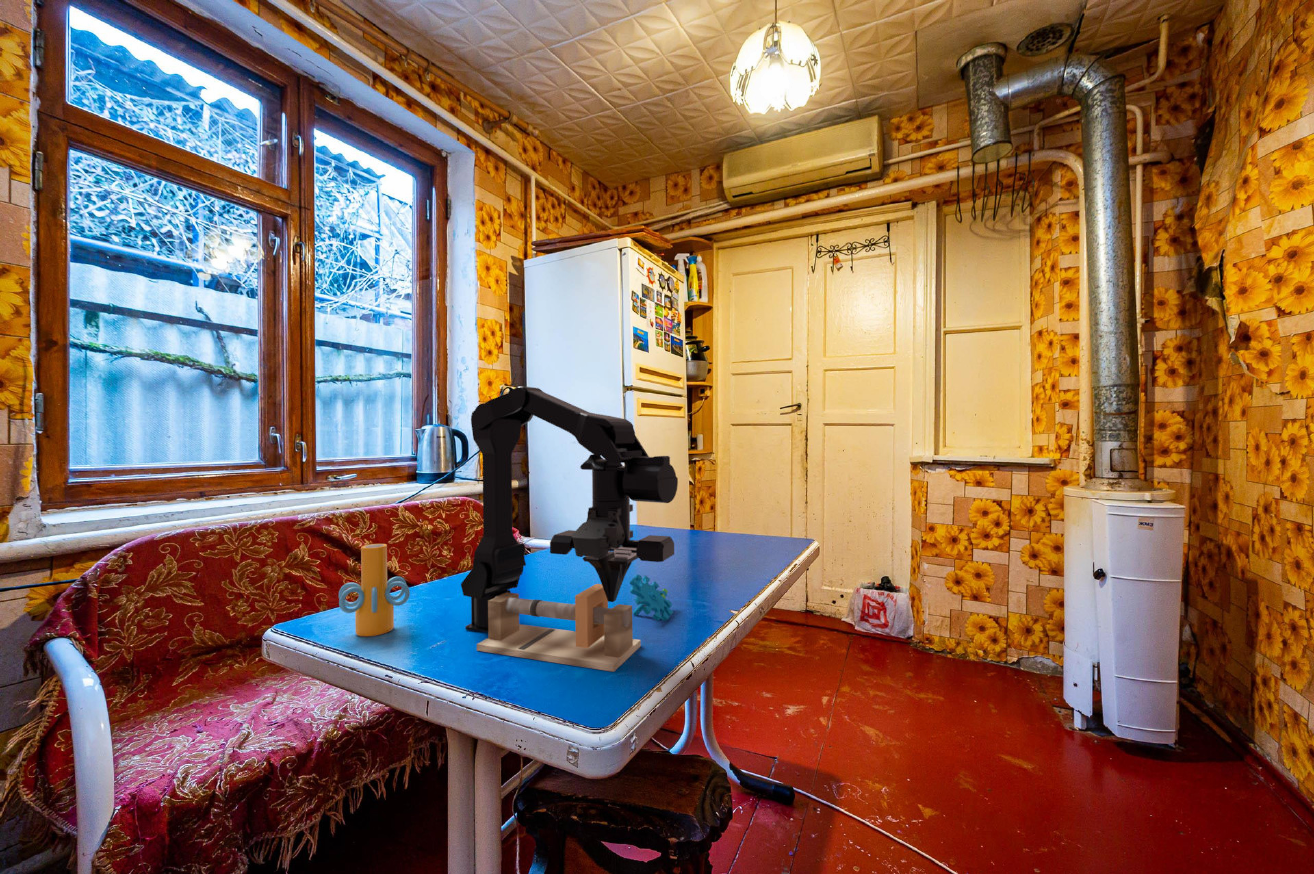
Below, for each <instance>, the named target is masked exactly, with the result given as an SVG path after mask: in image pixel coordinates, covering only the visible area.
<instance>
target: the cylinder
mask: <svg viewBox="0 0 1314 874" xmlns="http://www.w3.org/2000/svg"><path fill="white" fill-rule="evenodd" d="M360 552H361V553H360V554H361V555H360V559H361V562H360V565H361V569H360V570H361V574H360V577H361V585H360V584H359V583H356V582H346V583H345V584H343V585H342V586H341V587H340V588H339V591H338V599H339V600H338V605H339V608H340V610H341V611H342V612H344V613H347V614H352V613H355V618H354V620H355V624H354V625H355V627H354V628H355V630H354V631H355V634H356V635H357V636H358V637H375V636H380V635H383V634H384V635H385V634H386V633H388V632H391V631H392V630H394V628H395V622H394V621H395V611H394V610H395V609H394V606H403V605H404V604H406V603H407V601H408V600H409V599H410V597H411V592H410V588H409V586H408V585H407V582H406V580H405V578H404V577H401V576H394V577H391V578H389V579H388V544H386V543H373V544H372V543H371V544H366V545H362V546H361V548H360ZM395 587H401V590H400V591H399V593H398V594H396V595H391V590H392V589H393V588H395ZM351 593H357V594H358V597H357V599H356V600H355V601H348V600H347V599H346V597H347V596H348V595H349V594H351ZM403 596H404V597H403ZM402 597H403V598H402ZM401 598H402V599H401ZM400 599H401V600H400Z"/></svg>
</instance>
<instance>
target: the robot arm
mask: <svg viewBox="0 0 1314 874" xmlns="http://www.w3.org/2000/svg"><path fill="white" fill-rule="evenodd" d="M533 417H536V418H538V419H540V420H542V421H545V422H547V423H549V424H551V425H553V426H555V427H558V428H559V429H561V430H562V431H565V432H567V433H569V434H571V435H572V436H573V437H575V439H576V441H577V443H578V444H579V445H580V446H581V447H583V448H584V449H585V450H587V451H588V452H590V455H589V457H588V458H587V459H586V460H585V461H584V462H582V464H581V465H580V467H579V468H580V470H585V471H586V470H587V471H591V477H592V485H591V486H592V487H591V488H592V489H591V490H592V495H591V496H592V501H591V502H592V503H591V504H592V505H591V506H590V507H588V510H587V516H586V520H585V522H583V523H581V525H580V526H579V527H578V528H576V529H575V530H570V529H568V530H564V531H562V532H558V533H556V534H553V535H552V538H551V539H550V542H549V553H550V554H553V555H564V556H565V555H568V554H569V553H570V552H571V551H572V550H573V549H574V551H575V552H574V553H575V556H576V557H579V558H582V560H583V561H584V562H587V563H589V564H590V565H591V567H593V568H594V569H595V571H596V573H597V576H598V579H599V580H600V584H602V586H603V589H604V592H605V594H606V597H607V600H608V603H614V602H615V601H616V600H617V598H618V596H619V592H620V590H621V587H622V585H623V582H624V579H625V577H626V574H627V573H628V570H629V569H630V567H631V565H632V562H634V561H635V560H638V559H639V560H640V561H642V562H651V563H652V562H653V563H662V562H665V561H666V560H667V559H669V558H671V557H672V556H674V555H675V542H674V540H673V539H672V537H671V536H667V535H652V534H651V535H649V534H648V535H647V536H645V537H643V538H640V539H639V540H638V539H637V540H636V539H632V538H634V530H631V517H630V516H631V515H630V514H631V512H633V511H634V504H630V502H631V501H633V502H644V503H656V504H657V503H660V504H670V503H671V502H673V500H674V499H675V497H676V494H677V492H678V483H679V481H678V477H677V475H676V471H675V469H674V467H673V465H671V457H670V455H659V456H658V455H657V456H656V455H655V456H649V455H648V453H647V452H646V449H644V447H643V445H642V444H641V442H640V440H639V438H638V437H637V436H636V432H635V431H636V430H635V429H634V425H633V423H632V422H631V421H630V420H628V419H626V418H621V417H616V416H612V415H606V414H599V413H593V412H590V411H587V410H585V409H582V408H581V407H578V406H575V405H574V404H571V403H570V402H568V401H567V402H566V401H565V400H563V399H560V398H558V397H556V396H553V395H551V394H549V393H546V392H545V391H543V390H542V389H540V387H539V388H538V387H532V386H522V385H521V386H517V387H514V388H513V389H512V390H510V391H509V392H506V393H504V394H503V395H499V396H498V397H493V398H492V399H489V400H487V401H486V402H483V403H480V404H478V405H477V406H476V408H475V409H474V410H473V411H472V412H471V415H470V425H471V431H472V438H473V439H472V440H473V442H474V443H475V444H476V446H477V447H478V449H479V451H480V453H481V455H482V514H483V515H482V525H483V526H482V528H483V530H482V531H483V533H482V536H481V539H480V541H479V543H478V545H477V546H476V548H475V550H474V555H473V564H472V569H471V570H470V571H469V573H467V575H466V576H465V578H464V579H463V580H462V582H461V583H460V587H461V590H462V595H463V596H464V597H469V598H470V601H471V603H470V606H471V607H470V608H471V609H470V610H471V612H470V613H471V614H470V615H471V621H470V622H471V623H469V624H467V625H465V630H469V631H475V632H482V633H488V601H489V600H491V599H493V598H495V597H496V596H500V595H502V594H504V593H507V592H508V593H512V592H511V589H517V588H518V586H519V581H520V578H521V576H522V575H523V572H524V567H525V566H527V563H526V560H525V559H526V557H525V551H526V546H525V544H524V543H521V542H520V543H519V541H518V540H517V539H516V537H515V535H514V533H513V474H512V473H513V468H512V467H513V466H512V465H513V462H512V459H513V458H512V456H513V455H512V454H513V452H514V450H515V448H516V446H517V445H518V442H519V441H520V437H521V430H522V427H523V426H524V425H526V424H528V423H529V422H530V421H532V419H533ZM622 463H623V464H624V465H623V464H622ZM630 500H631V501H630Z"/></svg>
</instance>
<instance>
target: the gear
mask: <svg viewBox="0 0 1314 874" xmlns="http://www.w3.org/2000/svg"><path fill="white" fill-rule="evenodd" d="M650 581H651V579H650V577H648V576H647V575H644V576H643V577H642V576H641V575H640V574H636V575H635V576H634V577H633V578H632V579H631V580H629V584H630V585H631V587H630V589H629V593H630V594H632V595H635V596H636V597H635V598H634V602H635V604H636V605H637V606H636V608H635V609H634V610H632V616H633V615H634V617H636V616H638V615H639V614H640V613H642V611H643V612H644V613H645V615H646V616H648V615H650V614H651V612H652V611H653V612H654V614H653V615H652V618H653V619H654V620H655V621H657V622H659V621H660V620H662V621H663V622H667V621H668V620H670V616H671V615H673V613H674V611H673V610H672V609H671V607H672V601H670V600H668V599H666V598H667V596H668V592H669V591H668V589H667V588H665V587H664V588H663V589H662V590H658V588H659V587H660V585H659V584H658V583H657V581H653V582H652V583H651V584H650V583H649V582H650Z"/></svg>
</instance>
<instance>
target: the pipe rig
mask: <svg viewBox="0 0 1314 874" xmlns="http://www.w3.org/2000/svg"><path fill="white" fill-rule="evenodd" d="M520 615H527V616H532V617H535V618H537V617H538V618H540V617H543V618H551V619H559V620H567V621H574V622H575V603H565V602H556V601H548V600H547V601H546V600H542V599H528V598H521V597H520V594H519V593H515V592H511V593H508V592H507V593H504V594H502V595H500V596H496V597H495V598H493V599H491V600H489V601H488V632H487V634H488V636H487V637H488V638H485V639H484V640H482V641H480V642H478V643H476V651H478V652H479V651H480V652H484V653H490V654H491V653H492V654H496V655H503V656H511V657H517V658H522V659H530V660H535V661H543V662H548V663H553V664H554V663H556V664H562V665H569V666H573V667H574V666H575V667H581V668H588V669H594V670H601V671H605V672H606V671H607V672H616V670H618V669H619V667H621V666H622V665H623V664H624V663H625V662H626V661H627V660H628V659H630V657H631V656H632V655H633V654H634V653H636V651H638V650H639V649H640V647H641V646H642V643H641V639H636V638H633V636H634V635H633V605H631V604H630V605H629V604H628V605H627V604H620V603H618V604H616V605H615V606H614V607H612V608H611V607H610V608H609V607H608V608H603V607H594V608H593V623H598V624H604V636H603V637H601V638H600V639H599V640H597V641H596V642H595V643H594V644H592V645H591V646H590V647H588V648H583V647H576V630H575V631H573V630H567V629H561V628H560V629H559V628H552V627H545V626H543V627H542V626H535V625H530V624H529V625H528V624H521V623H520Z"/></svg>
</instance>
